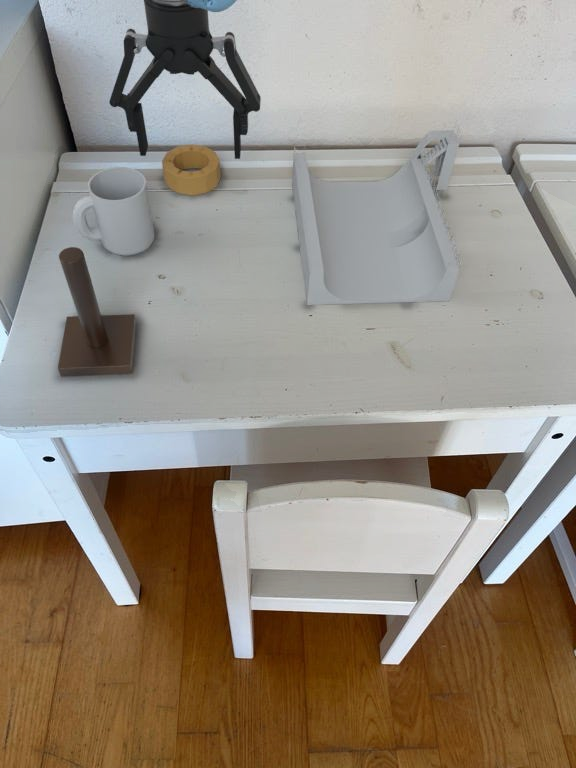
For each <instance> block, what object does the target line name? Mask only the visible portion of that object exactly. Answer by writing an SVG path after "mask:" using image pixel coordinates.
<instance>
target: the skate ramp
mask: <svg viewBox="0 0 576 768" xmlns="http://www.w3.org/2000/svg"><path fill="white" fill-rule="evenodd" d="M448 123H449V124H454V126H453V125H449V126H447V125H445V124H448ZM445 127H446V128H450V127H451V128H453V127H454V128H453V129H445ZM456 127H457V128H456ZM461 138H462V133H461V131H460V128H459V126H458V123H457V122H456V121H448V122H447V121H446V122H444V123H443V129H442V130H440V129H438V130H437V129H435V130H430V131H429V132H427V133H425V135H424V136H423V137H422V139H421V140H420V142H419V143H418V145H417V146H416V147H415V149H413V152H411V154H410V156H409V157H408V158H407V160H406V161H405V163H404V164H403V165H402V167H401V168H400V169H399V170H398V171H397V172H396V173H395V174H393V175H391V176H390V177H388V178H386V179H382V180H378V181H377V180H376V181H342V182H341V181H338V182H337V181H334V182H333V181H325V180H321V179H319V178H317V177H316V176H314V174H312V173H311V172H310V170H309V167H308V161H307V155H306V152H296V150H297V149H296V146H299V147H300V146H301V147H302V146H304V147H305V148H306V146H307V145H306V144H301V145H300V144H297V145H296V144H295V145H294V147H293V156H292V157H293V159H292V179H291V181H292V182H291V189H292V196H293V197H292V198H293V205H294V211H295V220H296V227H297V235H298V243H299V251H300V260H301V266H302V267H301V268H302V274H303V275H302V276H303V284H304V289H305V290H304V291H305V299H306V306H316V305H317V306H318V305H321V306H322V305H353V304H356V305H357V304H359V305H360V304H387V303H388V304H391V303H425V302H426V303H428V302H450V300H451V298H452V294H453V292H454V290H455V289H454V288H455V286H456V283H457V279H458V277H459V274H460V271H461V266H462V263H463V261H462V259H461V255H460V252H459V250H458V247H457V244H456V242H455V239H454V236H453V232H452V229H451V227H450V224H449V222H448V219H447V216H446V212H445V210H444V207H443V204H442V201H441V198H440V195H439V193H438V190H439V191H441V190H442V191H444V193H443V197H445V195H446V192H447V190H448V187H449V183H450V180H451V177H452V173H453V168H454V165H455V161H456V158H457V154H458V151H459V147H460V142H461V140H462V139H461ZM436 140H438V142H437V144H434V147H431V148H430V149H428V150H427V152H424V153H423V154H424V155H422V152H423V150H424V149H425V148H426V147H427V145H428V144H429V143H431V142H432V141H436ZM433 161H434V163H433V168H432V172H431V170H430V167H429V165H428V164H430V163H431V162H433ZM433 177H435V179H433ZM437 177H438V179H437ZM436 181H437V185H436ZM438 199H439V200H438ZM441 207H442V208H441ZM446 222H447V223H446ZM449 231H450V232H449ZM452 239H453V240H452ZM456 250H457V252H456ZM458 256H459V258H458Z"/></svg>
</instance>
